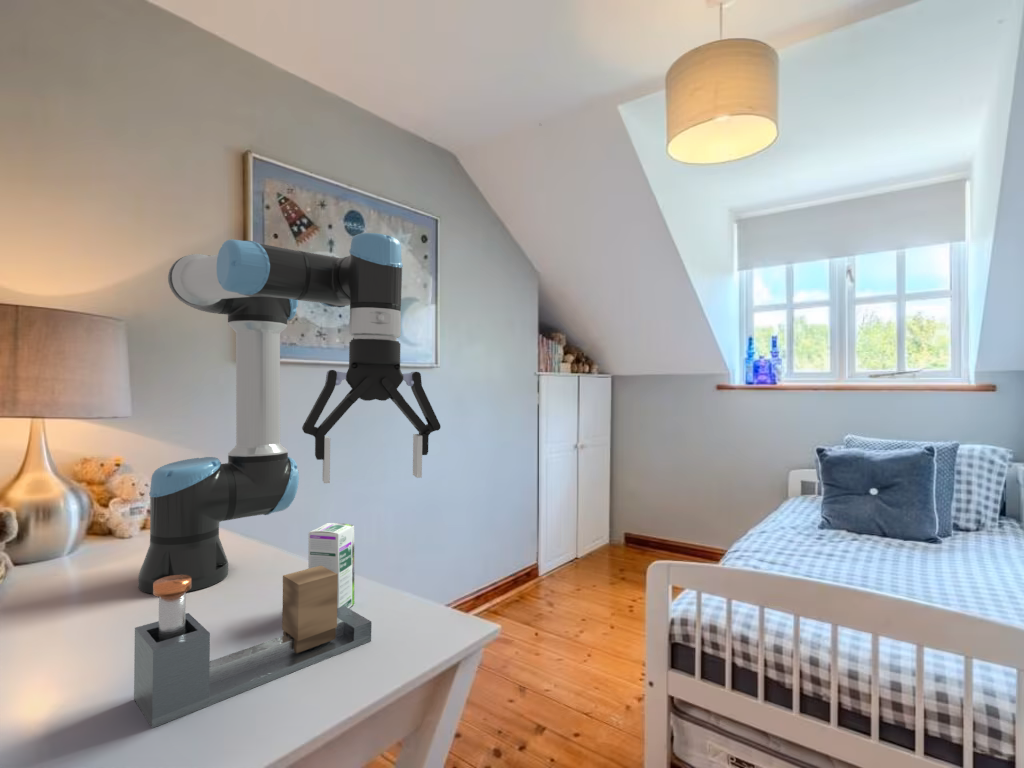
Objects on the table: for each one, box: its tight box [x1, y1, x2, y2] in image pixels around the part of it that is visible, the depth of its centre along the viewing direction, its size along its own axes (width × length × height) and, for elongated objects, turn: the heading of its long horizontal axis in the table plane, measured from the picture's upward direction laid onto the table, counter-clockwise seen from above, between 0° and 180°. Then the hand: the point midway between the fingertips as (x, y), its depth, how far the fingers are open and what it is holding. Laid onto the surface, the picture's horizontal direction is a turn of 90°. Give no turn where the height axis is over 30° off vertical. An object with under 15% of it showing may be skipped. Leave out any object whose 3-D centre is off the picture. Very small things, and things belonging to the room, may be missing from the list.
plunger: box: [152, 575, 191, 642], centre depth 67 cm, size 4×4×10 cm
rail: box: [133, 606, 372, 729], centre depth 75 cm, size 8×29×9 cm, turn 137°
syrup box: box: [307, 522, 355, 609], centre depth 94 cm, size 6×6×14 cm
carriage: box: [281, 566, 338, 653], centre depth 80 cm, size 5×6×10 cm
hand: (373, 479), depth 82 cm, fingers open, 13 cm apart
